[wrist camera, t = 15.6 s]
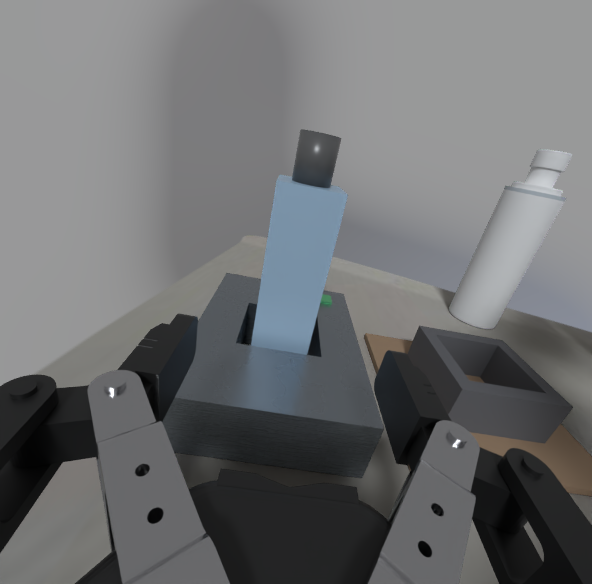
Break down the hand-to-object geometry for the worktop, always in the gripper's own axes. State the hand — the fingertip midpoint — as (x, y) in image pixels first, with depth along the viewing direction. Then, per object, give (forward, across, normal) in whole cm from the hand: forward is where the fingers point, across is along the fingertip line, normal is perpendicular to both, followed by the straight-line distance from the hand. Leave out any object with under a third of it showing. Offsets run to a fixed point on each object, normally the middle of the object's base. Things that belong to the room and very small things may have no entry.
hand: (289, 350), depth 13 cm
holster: (+11, -18, +10) cm, 23 cm away
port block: (+11, 0, +10) cm, 15 cm away
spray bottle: (+30, -29, +10) cm, 43 cm away
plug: (+11, 0, +10) cm, 15 cm away
